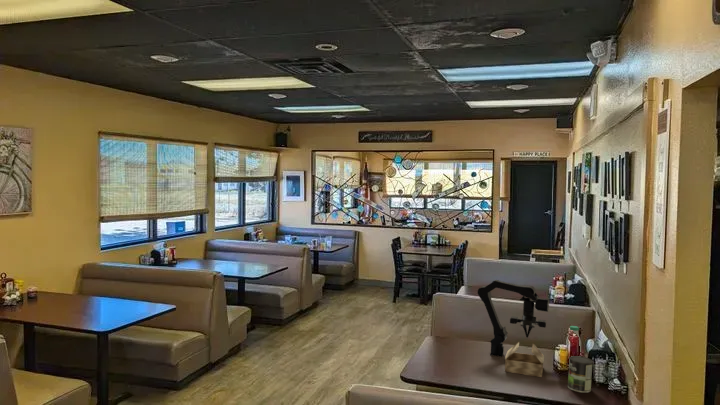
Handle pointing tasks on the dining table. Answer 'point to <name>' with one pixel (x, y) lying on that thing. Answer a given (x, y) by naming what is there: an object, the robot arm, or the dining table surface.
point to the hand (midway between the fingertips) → (527, 337)
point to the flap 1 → (512, 350)
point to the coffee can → (580, 374)
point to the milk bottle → (575, 330)
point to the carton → (524, 364)
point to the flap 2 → (537, 353)
